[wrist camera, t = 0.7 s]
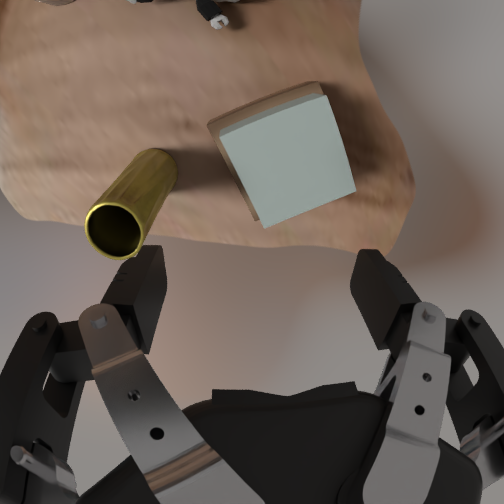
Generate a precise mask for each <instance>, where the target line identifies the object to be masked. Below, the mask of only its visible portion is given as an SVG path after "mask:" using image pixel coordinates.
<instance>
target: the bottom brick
mask: <svg viewBox="0 0 504 504" xmlns="http://www.w3.org/2000/svg"><path fill="white" fill-rule="evenodd" d="M312 93H315V94H322V95H324V94H323V92H322V89H321V87H320V84H319V82H312V81H308V82H304V83H301V84H298V85H295V86H292V87H290V88H287V89H284V90H281V91H278V92H276V93H273V94H270V95H268V96H265V97H263V98H260V99H258V100H255V101H253V102H250V103H248V104H245V105H243V106H241V107H238V108H236V109H234V110H232V111H229V112H227V113H225V114H223V115H220V116H218V117H216V118H214V119H212V120H210V121H209V122H208V124H207V128H208V129H209V131H210V133H211V135H212V137H213V139H214V141H215V143H216V145H217V147H218V149H219V151H220V153H221V155H222V157H223V159H224V161H225V163H226V164H227V166H228V168H229V170H230V172H231V174H232V176H233V178H234V180H235V182H236V184H237V186H238V188H239V190H240V192H241V194H242V196H243V198H244V200H245V202H246V204H247V206H248V208H249V210H250V212H251V214H252V216H253V218H254V220H255V221H257V220H260V218H259V216H258V214H257V212H256V210H255V208H254V206H253V204H252V202H251V200H250V198H249V196H248V194H247V192H246V190H245V188H244V186H243V184H242V182H241V180H240V178H239V176H238V174H237V172H236V170H235V168H234V166H233V164H232V162H231V160H230V158H229V156H228V154H227V152H226V150H225V148H224V146H223V144H222V142H221V140H220V138H219V135H220V130H221V129H223V128H226V127H228V126H230V125H232V124H235V123H237V122H239V121H241V120H244V119H246V118H248V117H251V116H253V115H256V114H258V113H260V112H263V111H265V110H268V109H271V108H273V107H276V106H278V105H281V104H284V103H286V102H289V101H292V100H295V99H298V98H300V97H303V96H306V95H309V94H312Z"/></svg>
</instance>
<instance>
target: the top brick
mask: <svg viewBox="0 0 504 504" xmlns="http://www.w3.org/2000/svg"><path fill="white" fill-rule="evenodd" d="M219 138H220V140H221V142H222V144H223V146H224V148H225V150H226V152H227V154H228V156H229V158H230V160H231V162H232V164H233V166H234V168H235V170H236V172H237V174H238V176H239V178H240V180H241V182H242V184H243V186H244V188H245V190H246V192H247V194H248V196H249V198H250V200H251V202H252V204H253V206H254V208H255V210H256V212H257V214H258V216H259V218H260V221H261V223H262V225H263V227H264V229H265V228H267V227H269V226H272V225H274V224H277V223H279V222H281V221H284V220H286V219H289V218H291V217H294V216H296V215H298V214H301V213H303V212H306V211H308V210H311V209H313V208H316V207H318V206H321V205H323V204H325V203H328V202H330V201H333V200H335V199H338V198H340V197H343V196H345V195H348V194H350V193H353V192H355V191H356V188H355V184H354V180H353V177H352V173H351V169H350V166H349V162H348V159H347V155H346V152H345V148H344V145H343V142H342V139H341V136H340V132H339V129H338V126H337V123H336V120H335V117H334V115H333V112H332V109H331V106H330V103H329V101H328V98H327V95H322V94H315V93H312V94H309V95H306V96H303V97H300V98H298V99H295V100H292V101H289V102H286V103H284V104H281V105H278V106H276V107H273V108H271V109H268V110H265V111H263V112H260V113H258V114H256V115H253V116H251V117H248V118H246V119H244V120H241V121H239V122H237V123H235V124H232V125H230V126H228V127H226V128H223V129H221V130H220V135H219Z"/></svg>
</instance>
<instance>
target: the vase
mask: <svg viewBox="0 0 504 504" xmlns="http://www.w3.org/2000/svg"><path fill="white" fill-rule="evenodd" d="M177 176H178V170H177V166H176V163H175V162H174V160H173V159H172V157H171V156H170V155H168V154H167V153H165V152H164V151H162V150H158V149H148V150H145V151H142V152H140V153H139V154H137V155H136V157H135V158H134V159H133V161H132V162H131V163H130V164H129V165H128V166H127V167H126V168H125V170H124V171H123V172H122V173H121V175H120V176H119V177H118V178H117V179H116V180H115V181H114V182H113V184H112V185H111V186H110V187H109V188H108V189H107V190H106V191H105V192H104V193H103V195H102V196H101V197H100V198H99V199H98V200H97V201H96V202H95V203H94V204H93V205H92V206H91V208H90V209H89V211H88V213H87V216H86V219H85V225H84V227H85V234H86V237H87V239H88V241H89V243H90V244H91V245H92V247H94V249H95V250H96V251H97V252H99V253H100V254H102V255H104V256H105V257H108V258H110V259H114V260H124V259H128V258H130V257H133V256H135V255H136V254H137V253H138V252H139V250H140V249H141V247H142V245H143V242H144V240H145V238H146V236H147V234H148V232H149V230H150V228H151V226H152V224H153V222H154V220H155V218H156V216H157V214H158V212H159V210H160V209H161V207H162V205H163V203H164V201H165V199H166V198H167V196H168V194H169V192H170V190H171V189H172V188H173V187H174V185H175V183H176V180H177Z"/></svg>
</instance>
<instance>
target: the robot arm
mask: <svg viewBox="0 0 504 504" xmlns="http://www.w3.org/2000/svg"><path fill="white" fill-rule="evenodd" d="M35 1H38V2H43V3H46V4H50V5H55V6H59V5H65V4H68V3H70V2H72V1H74V0H35ZM350 290H351V294H352V296H353V298H354V300H355V302H356V304H357V306H358V308H359V310H360V312H361V314H362V316H363V319H364V321H365V323H366V325H367V327H368V329H369V331H370V334H371V336H372V338H373V340H374V342H375V345H376V347H377V349H378V350H384V349H390V354H389V355H388V357H387V360H386V363H385V366H384V369H383V371H382V374H381V377H380V379H379V382H378V385H377V387H376V390H375V392H374V394H371V393H367V392H362V391H357V388H356V385H355V382H346V383H338V384H330V385H322V386H319V387H316V388H314V389H311V390H307V391H305V392H301V393H298V394H295V395H292V396H281V395H275V394H269V393H264V392H258V391H253V390H219V389H213V390H212V399H210V400H205V401H202V402H199V403H195V404H193V405H190V406H188V407H186V408H185V409H183V410H181V409H180V408H179V407H178V405H177V404H176V403H175V401H174V400H173V398H172V397H171V395H170V394H169V393H168V391H167V390H166V388H165V387H164V385H163V384H162V382H161V381H160V379H159V378H158V376H157V374H156V373H155V371H154V370H153V368H152V367H151V365H150V363H149V362H148V360H147V359H146V357H145V355H144V354H149V352H150V348H151V344H152V341H153V337H154V333H155V329H156V326H157V323H158V319H159V316H160V312H161V308H162V305H163V302H164V298H165V295H166V291H167V276H166V269H165V262H164V255H163V249H162V246H160V245H143V246H142V247H141V249H140V251H139V252H138V254H137V256H136V257H130V258H129V259H128V260H126V261H125V262H124V263H123V264H122V265H121V266H120V268H119V270H118V272H117V274H116V275H115V277H114V279H113V281H112V282H111V284H110V286H109V288H108V289H107V291H106V293H105V295H104V297H103V299H102V301H101V303H100V304H96V305H93V306H90V307H89V308H87V309H86V310H84V311H83V312H82V314H81V315H80V317H79V320H77V321H71V322H65V323H59V322H58V320H57V318H56V316H55V315H54V314H53V313H51V312H41V313H38V314H36V315H34V316H33V317H32V318H31V319H29V321H28V322H27V323H26V325H25V327H24V329H23V330H22V332H21V334H20V336H19V338H18V339H17V342H16V343H15V345H14V347H13V349H12V351H11V353H10V355H9V358H8V359H7V361H6V364H5V366H4V368H3V370H2V372H1V374H0V504H480V500H481V495H482V490H483V489H485V488H487V487H488V486H490V485H491V484H492V483H494V482H496V481H498V480H499V479H501V478H503V477H504V348H503V347H502V345H501V343H500V342H499V340H498V339H497V337H496V336H495V334H494V332H493V331H492V329H491V328H490V326H489V325H488V324H487V322H486V321H485V319H484V318H483V317H482V316H481V315H480V314H479V313H477V312H475V311H473V310H464V311H463V312H462V313H461V315H460V317H459V319H458V320H456V319H450V318H446V317H445V315H444V313H443V312H442V310H441V309H439V308H438V307H437V306H435V305H433V304H432V303H428V302H422V301H421V300H420V299H419V297H418V296H417V294H416V293H415V292H414V290H413V289H412V287H411V286H410V285H409V283H407V281H406V279H405V278H404V277H402V274H401V273H400V271H399V270H398V269H397V268H396V267H395V266H394V265H393V264H391V263H390V262H388V261H386V259H385V258H384V257H383V255H382V254H381V253H380V251H379V250H377V249H361V250H360V251H359V252H358V255H357V259H356V263H355V266H354V270H353V273H352V277H351V281H350ZM469 356H471V358H472V359H473V361H474V363H475V365H476V367H477V369H478V371H479V379H478V382H477V384H476V385H475V386H474V387H473V384H472V382H471V381H470V378H469V376H468V374H467V372H466V370H465V368H464V366H463V364H464V363H465V362H466V360H467V359H468V358H469ZM48 371H49V372H50V374H49V377H48V379H47V382H46V384H45V387H44V390H43V385H44V382H45V379H46V377H47V374H48ZM88 380H95V382H96V384H97V387H98V389H99V392H100V394H101V396H102V399H103V401H104V403H105V405H106V407H107V409H108V412H109V414H110V416H111V418H112V420H113V422H114V424H115V426H116V428H117V430H118V432H119V434H120V436H121V438H122V440H123V441H124V443H125V445H126V447H127V449H128V450H129V452H130V454H131V455H130V456H129V457H127V458H126V459H125V460H124V461H123V462H122V463H120V464H119V465H118V466H117V467H116V468H115V469H113V470H112V471H111V472H110V473H108V474H107V475H106V476H105V477H104V478H102V479H101V480H100V481H99V482H97V483H96V484H95V485H94V486H92V487H91V488H90V489H88V490H87V491H86V492H85V493H83V494H82V495H81V496H80V497H79V495H78V493H77V491H76V482H75V476H74V473H73V471H72V469H71V467H70V466H69V465H68V464H67V457H68V451H69V446H70V441H71V437H72V432H73V427H74V422H75V419H76V414H77V410H78V406H79V403H80V398H81V395H82V391H83V388H84V384H85V381H88ZM445 404H446V405H447V408H448V410H449V413H450V416H451V418H452V421H453V424H454V427H455V430H456V433H457V435H458V439H459V441H460V450H457V449H456V448H454V447H453V446H451V445H450V444H448V443H447V442H445V441H444V440H442V439H441V438H439V434H440V429H441V425H442V420H443V414H444V410H445Z"/></svg>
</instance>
